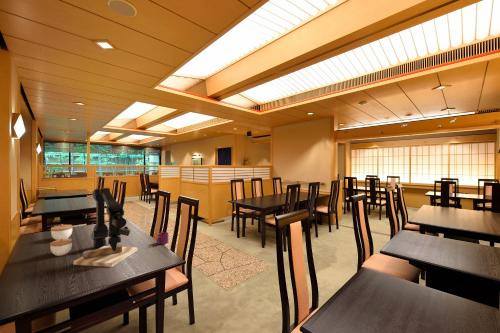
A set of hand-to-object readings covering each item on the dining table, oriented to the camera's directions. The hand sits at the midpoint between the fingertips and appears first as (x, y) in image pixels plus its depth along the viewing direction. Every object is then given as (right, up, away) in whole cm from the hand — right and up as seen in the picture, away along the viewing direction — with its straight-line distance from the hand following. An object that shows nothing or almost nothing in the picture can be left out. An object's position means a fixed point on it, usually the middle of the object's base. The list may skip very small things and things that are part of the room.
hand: (114, 250), depth 138 cm
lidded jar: (-36, -4, +5) cm, 37 cm away
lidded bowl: (-59, -3, +33) cm, 67 cm away
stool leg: (-6, -2, -1) cm, 6 cm away
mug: (+19, -4, +25) cm, 31 cm away
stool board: (-5, -4, +1) cm, 6 cm away
